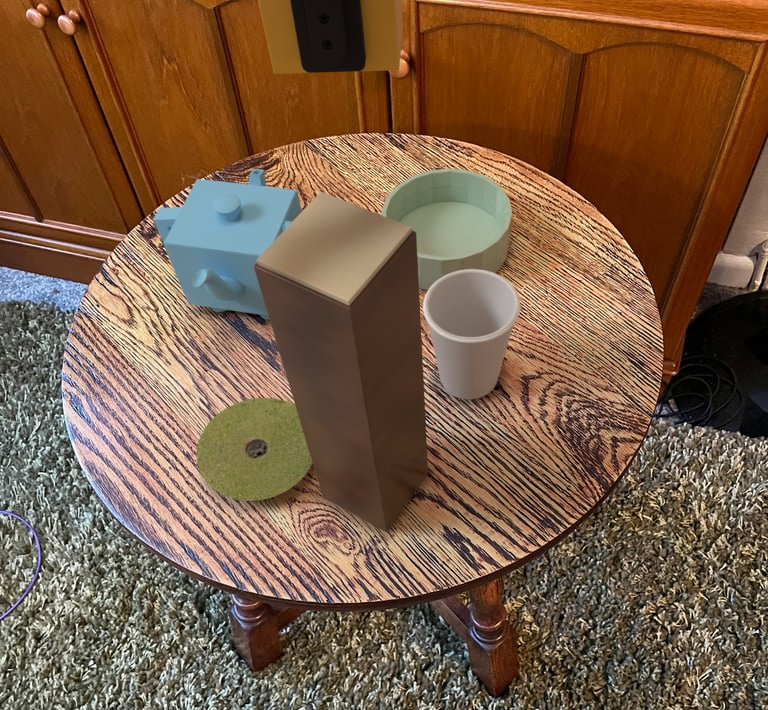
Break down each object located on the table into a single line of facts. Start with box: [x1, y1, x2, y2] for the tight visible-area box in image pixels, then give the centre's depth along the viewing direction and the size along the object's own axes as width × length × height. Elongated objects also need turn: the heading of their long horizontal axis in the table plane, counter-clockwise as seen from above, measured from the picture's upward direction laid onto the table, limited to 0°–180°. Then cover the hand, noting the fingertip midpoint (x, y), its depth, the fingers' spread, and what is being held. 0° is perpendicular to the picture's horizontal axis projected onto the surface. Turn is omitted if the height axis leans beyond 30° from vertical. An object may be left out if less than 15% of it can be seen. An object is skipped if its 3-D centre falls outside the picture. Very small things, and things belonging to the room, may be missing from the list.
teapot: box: [152, 168, 303, 320], centre depth 78 cm, size 16×18×11 cm
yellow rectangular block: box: [257, 0, 404, 75], centre depth 38 cm, size 6×4×4 cm, turn 86°
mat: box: [195, 397, 313, 502], centre depth 72 cm, size 11×11×2 cm
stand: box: [254, 191, 429, 533], centre depth 58 cm, size 7×7×28 cm
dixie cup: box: [422, 269, 521, 400], centre depth 71 cm, size 8×8×10 cm
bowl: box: [380, 167, 513, 291], centre depth 82 cm, size 13×13×4 cm
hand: (338, 38), depth 40 cm, fingers closed on yellow rectangular block, 3 cm apart
